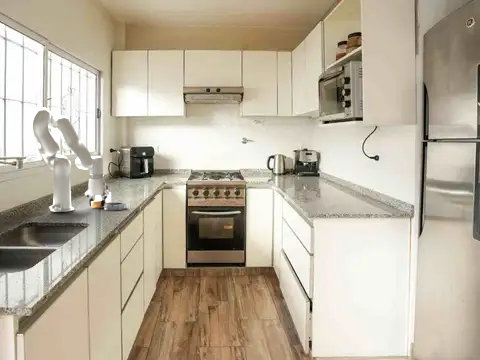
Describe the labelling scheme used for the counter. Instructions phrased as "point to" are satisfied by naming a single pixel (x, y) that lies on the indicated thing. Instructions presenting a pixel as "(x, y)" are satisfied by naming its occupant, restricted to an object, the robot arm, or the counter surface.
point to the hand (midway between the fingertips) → (97, 205)
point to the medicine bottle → (108, 199)
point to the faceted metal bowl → (115, 206)
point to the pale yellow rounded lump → (96, 204)
